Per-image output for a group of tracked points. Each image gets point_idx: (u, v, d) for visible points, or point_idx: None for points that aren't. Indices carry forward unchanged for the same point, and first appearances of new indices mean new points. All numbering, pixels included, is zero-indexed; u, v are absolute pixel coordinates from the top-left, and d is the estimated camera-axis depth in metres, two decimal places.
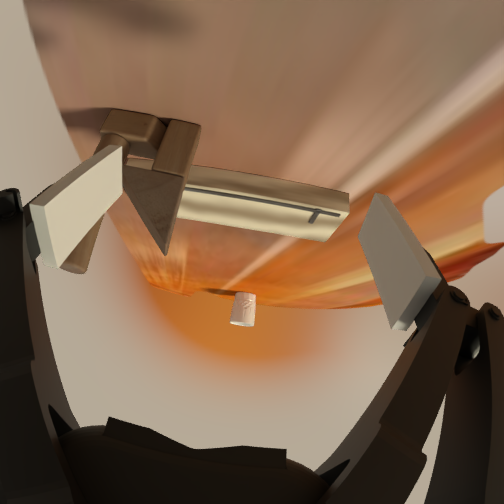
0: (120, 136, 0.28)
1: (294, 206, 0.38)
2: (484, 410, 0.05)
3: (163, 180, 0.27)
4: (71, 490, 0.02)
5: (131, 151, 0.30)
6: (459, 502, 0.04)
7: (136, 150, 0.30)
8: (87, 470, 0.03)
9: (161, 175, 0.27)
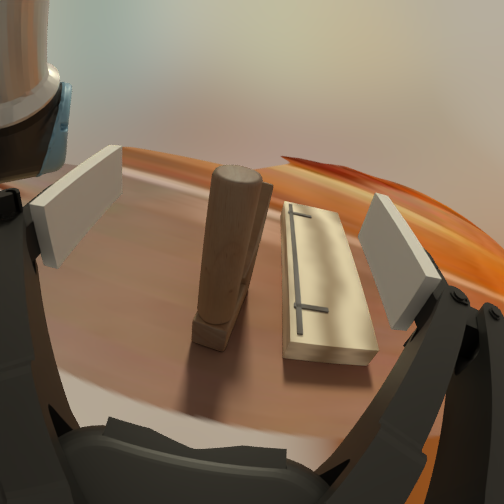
0: None
1: (291, 221, 0.47)
2: (484, 410, 0.05)
3: None
4: (71, 490, 0.02)
5: None
6: (459, 502, 0.04)
7: None
8: (87, 470, 0.03)
9: None
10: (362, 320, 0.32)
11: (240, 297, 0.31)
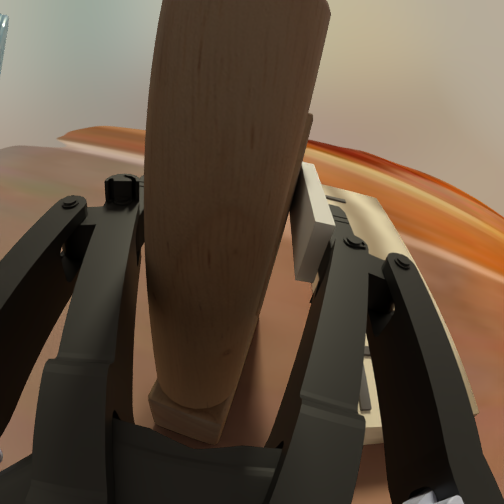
0: None
1: None
2: (419, 375, 0.06)
3: None
4: (71, 490, 0.02)
5: None
6: (424, 474, 0.04)
7: None
8: (131, 486, 0.03)
9: None
10: None
11: (248, 341, 0.15)
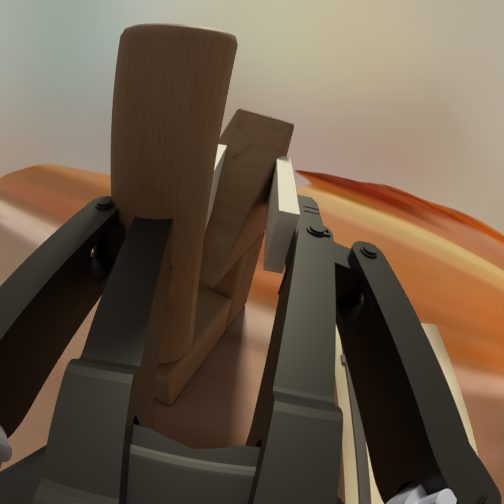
0: None
1: (353, 404, 0.14)
2: (395, 368, 0.06)
3: None
4: (71, 490, 0.02)
5: (193, 327, 0.16)
6: (410, 469, 0.04)
7: None
8: (144, 494, 0.03)
9: None
10: None
11: (214, 320, 0.17)
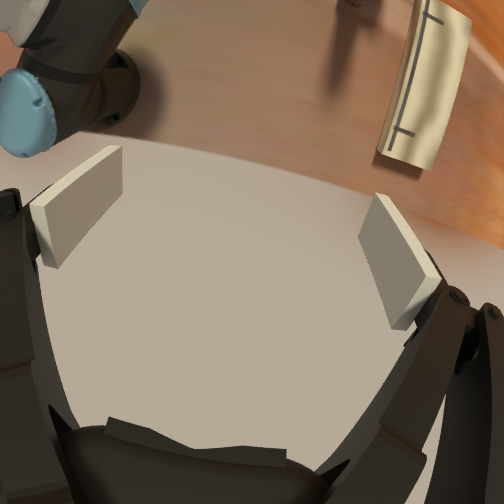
0: None
1: (421, 29, 0.30)
2: (484, 410, 0.05)
3: None
4: (71, 490, 0.02)
5: None
6: (459, 502, 0.04)
7: None
8: (87, 470, 0.03)
9: None
10: (433, 147, 0.41)
11: None
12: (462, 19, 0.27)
